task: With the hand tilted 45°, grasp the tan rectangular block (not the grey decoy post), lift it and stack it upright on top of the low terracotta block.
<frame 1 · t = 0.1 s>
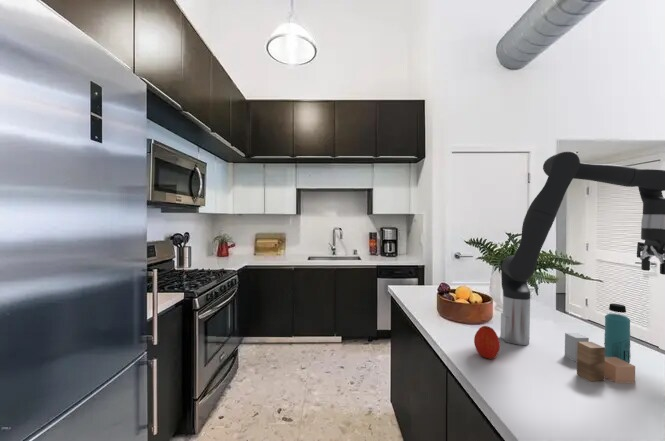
hand: (654, 272, 112), 29 cm above the counter, tool pointing down, fingers open, 8 cm apart
terracotta block: (615, 377, 94), on the counter
tan rectangular block: (590, 377, 94), on the counter
red ellipsoid: (486, 356, 107), on the counter
grey post: (576, 358, 107), on the counter
beverage bottle: (616, 365, 102), on the counter
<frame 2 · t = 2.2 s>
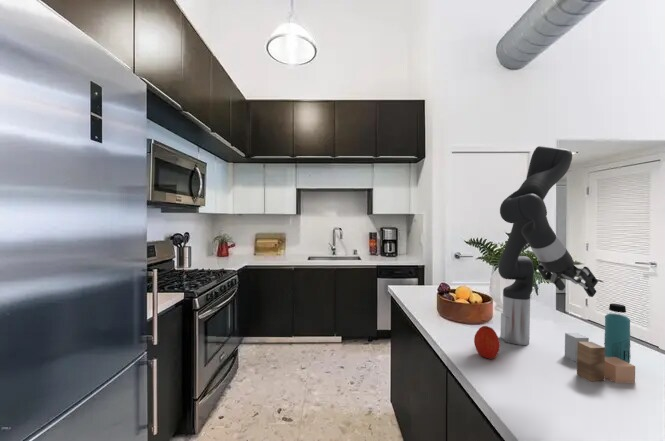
hand: (577, 291, 93), 26 cm above the counter, tool tilted 40°, fingers open, 8 cm apart
nothing on the counter moved.
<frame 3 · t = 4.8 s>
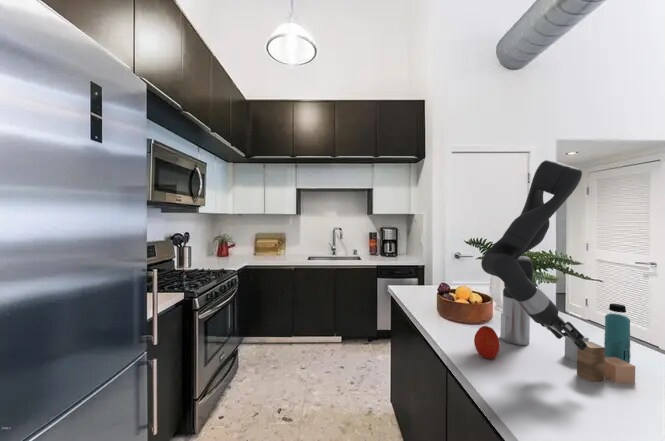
hand: (572, 342, 93), 11 cm above the counter, tool tilted 45°, fingers open, 8 cm apart
nothing on the counter moved.
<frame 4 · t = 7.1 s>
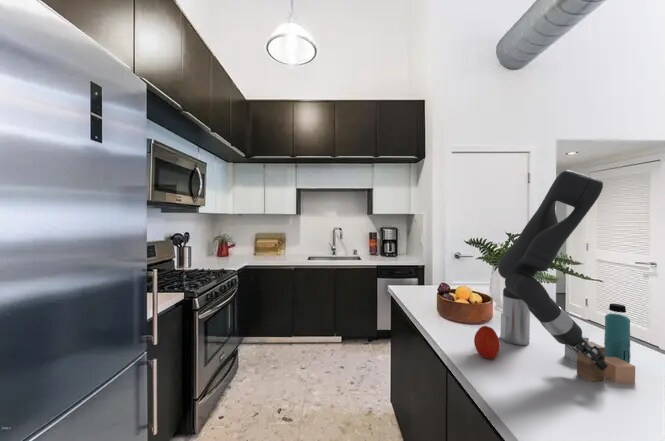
hand: (596, 363, 94), 4 cm above the counter, tool tilted 45°, fingers closed on tan rectangular block, 4 cm apart
tan rectangular block: (590, 377, 94), on the counter, touching gripper
everything else where it was.
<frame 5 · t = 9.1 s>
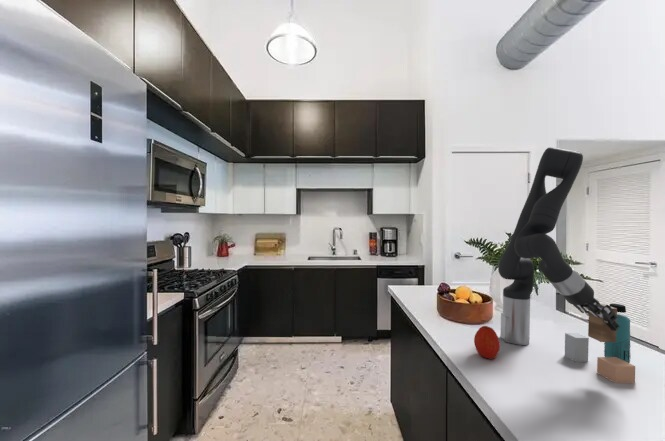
hand: (608, 325, 94), 16 cm above the counter, tool tilted 45°, fingers closed on tan rectangular block, 4 cm apart
tan rectangular block: (601, 339, 94), point 12 cm above the counter, touching gripper
everything else where it was.
when the fingers open (11 cm above the counter, at t = 11.1 s): tan rectangular block drops 2 cm, resting on terracotta block.
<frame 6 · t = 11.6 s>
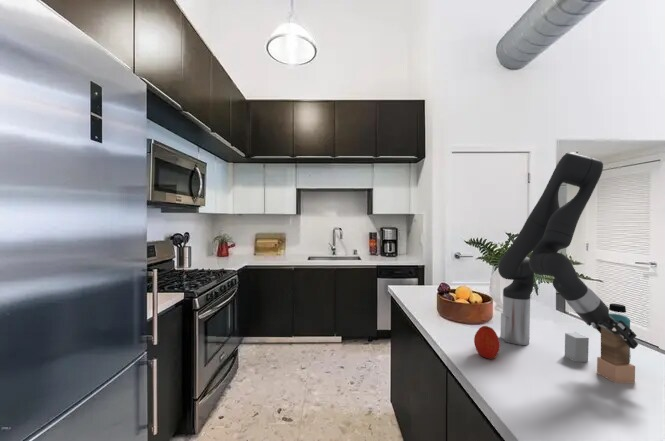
hand: (620, 340, 94), 11 cm above the counter, tool tilted 45°, fingers open, 8 cm apart
terracotta block: (615, 377, 94), on the counter, touching tan rectangular block
tan rectangular block: (614, 361, 94), point 5 cm above the counter, touching terracotta block
everything else where it was.
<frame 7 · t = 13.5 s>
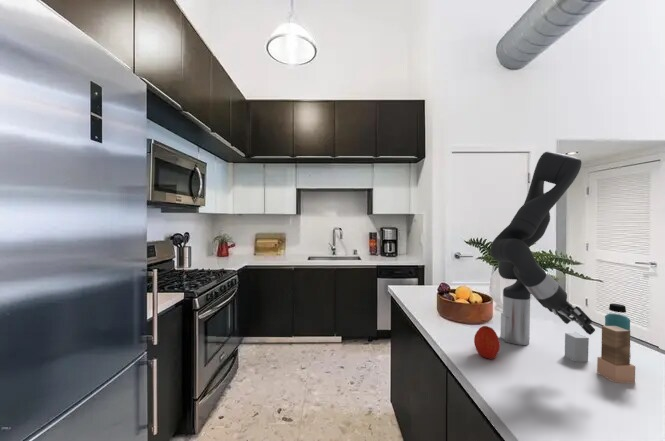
hand: (579, 326, 95), 15 cm above the counter, tool tilted 45°, fingers open, 8 cm apart
nothing on the counter moved.
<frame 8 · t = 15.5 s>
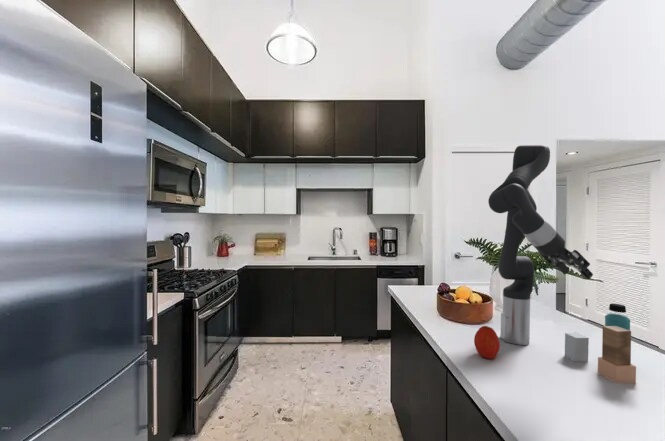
hand: (577, 274, 96), 31 cm above the counter, tool tilted 45°, fingers open, 8 cm apart
terracotta block: (616, 378, 94), on the counter
tan rectangular block: (616, 361, 94), point 5 cm above the counter
everything else where it was.
at the end: tan rectangular block 0.1 cm off-centre on the terracotta block, point 5.0 cm above the terracotta block's base; tan rectangular block tilted 1°; the gripper is holding nothing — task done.
